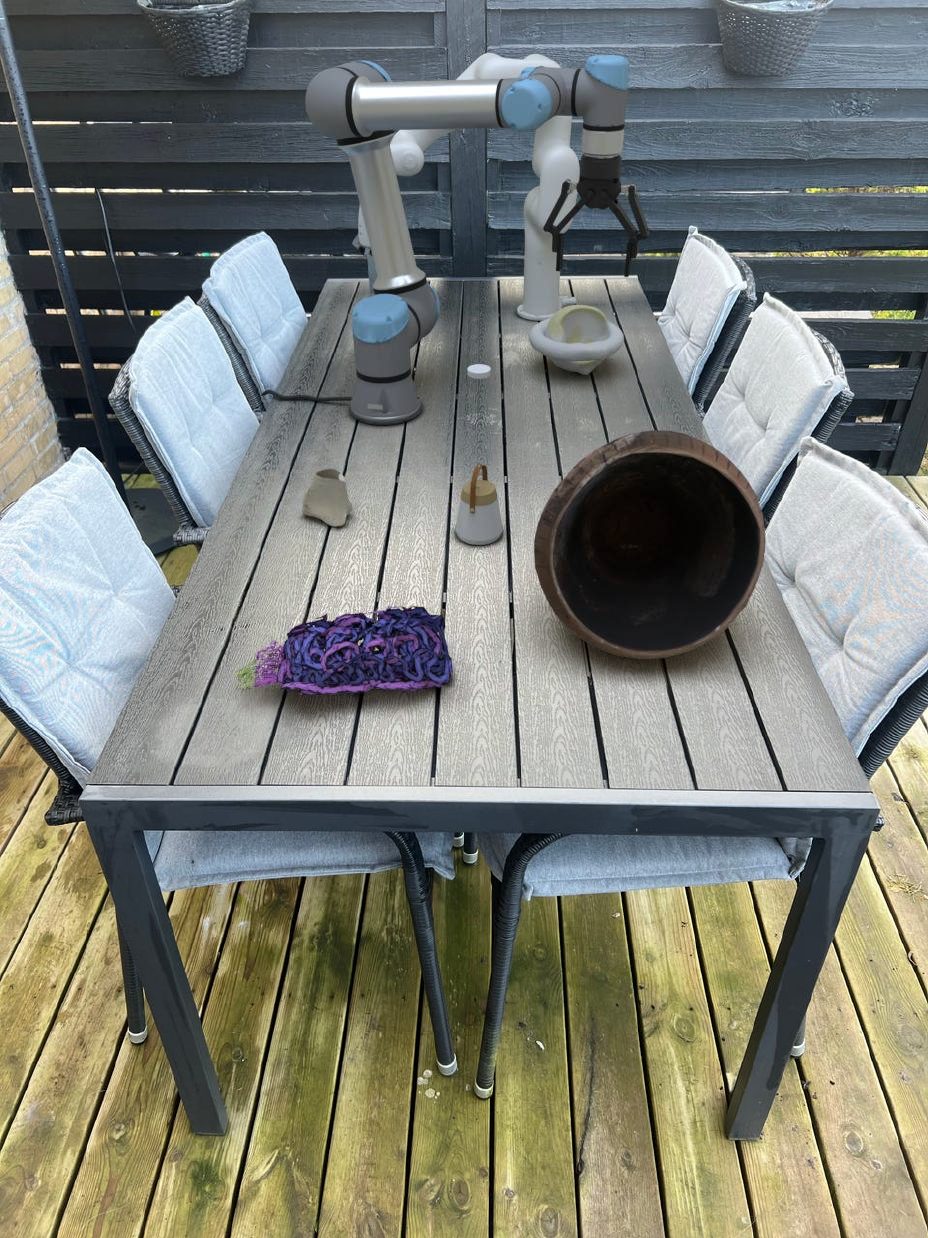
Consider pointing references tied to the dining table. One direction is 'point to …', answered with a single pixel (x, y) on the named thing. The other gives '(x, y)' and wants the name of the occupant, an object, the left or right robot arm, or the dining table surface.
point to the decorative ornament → (358, 654)
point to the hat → (576, 338)
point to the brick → (371, 272)
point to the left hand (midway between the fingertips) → (592, 272)
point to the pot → (650, 545)
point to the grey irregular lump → (327, 498)
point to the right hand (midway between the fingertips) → (382, 273)
